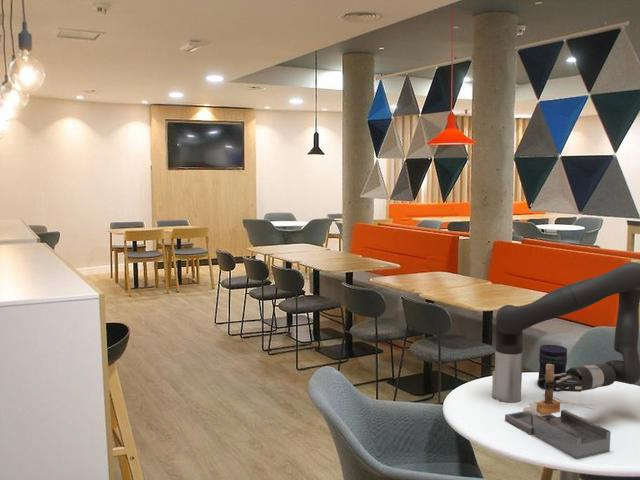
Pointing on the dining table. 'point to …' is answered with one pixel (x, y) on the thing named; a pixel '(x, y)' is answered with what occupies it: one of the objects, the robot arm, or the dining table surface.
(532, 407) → the chip
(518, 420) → the tray
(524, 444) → the dining table surface
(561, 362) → the storage jar
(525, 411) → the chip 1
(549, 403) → the wooden post on base
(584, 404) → the scissors
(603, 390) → the dining table surface
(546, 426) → the slot board
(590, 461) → the dining table surface
